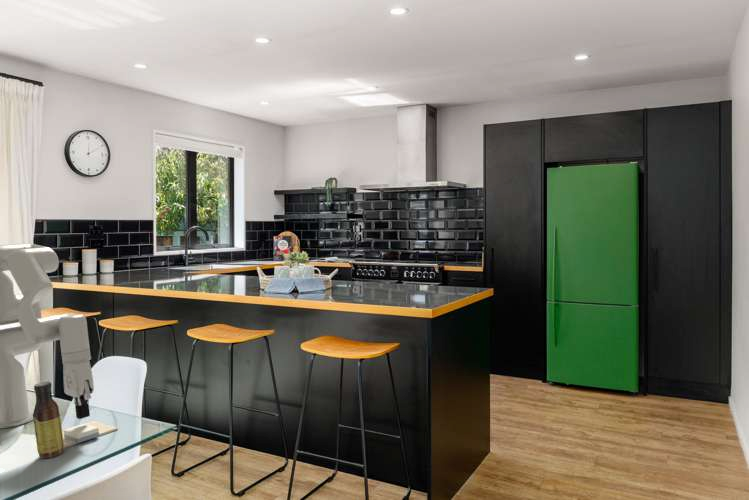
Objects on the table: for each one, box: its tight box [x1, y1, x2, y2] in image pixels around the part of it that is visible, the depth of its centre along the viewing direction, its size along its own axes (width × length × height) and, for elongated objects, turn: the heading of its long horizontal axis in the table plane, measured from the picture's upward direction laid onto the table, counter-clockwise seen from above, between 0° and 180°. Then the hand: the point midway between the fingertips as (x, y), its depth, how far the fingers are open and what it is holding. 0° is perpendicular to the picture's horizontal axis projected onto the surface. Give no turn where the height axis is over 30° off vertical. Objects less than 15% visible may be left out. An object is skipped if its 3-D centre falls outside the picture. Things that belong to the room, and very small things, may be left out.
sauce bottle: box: [32, 381, 65, 459], centre depth 154 cm, size 6×6×20 cm
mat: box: [62, 420, 119, 449], centre depth 170 cm, size 16×16×1 cm
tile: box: [63, 422, 100, 444], centre depth 165 cm, size 2×9×6 cm
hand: (83, 417), depth 169 cm, fingers closed
